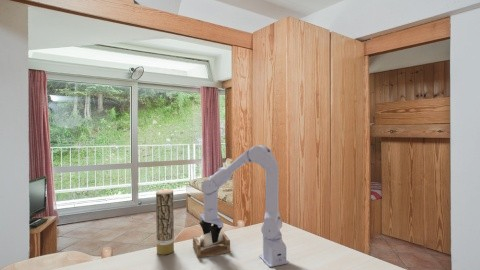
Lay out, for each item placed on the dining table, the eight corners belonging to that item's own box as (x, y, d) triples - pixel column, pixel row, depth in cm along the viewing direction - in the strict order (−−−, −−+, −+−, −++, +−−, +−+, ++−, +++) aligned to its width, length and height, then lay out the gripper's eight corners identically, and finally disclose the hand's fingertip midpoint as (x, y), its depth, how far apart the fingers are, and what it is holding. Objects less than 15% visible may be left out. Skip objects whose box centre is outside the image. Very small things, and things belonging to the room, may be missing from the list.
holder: (230, 252, 106) (230, 240, 106) (197, 258, 101) (197, 245, 101) (223, 242, 115) (223, 231, 115) (192, 247, 111) (192, 236, 111)
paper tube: (169, 256, 103) (168, 193, 103) (153, 254, 104) (152, 192, 104) (176, 248, 110) (176, 189, 110) (161, 247, 111) (161, 189, 111)
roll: (222, 244, 110) (223, 232, 109) (205, 250, 104) (206, 238, 104) (215, 239, 113) (216, 228, 113) (199, 244, 108) (199, 233, 107)
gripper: (229, 209, 105) (229, 242, 105) (208, 202, 116) (209, 232, 116) (214, 213, 101) (215, 247, 101) (195, 205, 112) (195, 237, 112)
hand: (211, 240), depth 108 cm, fingers closed on roll, 5 cm apart
